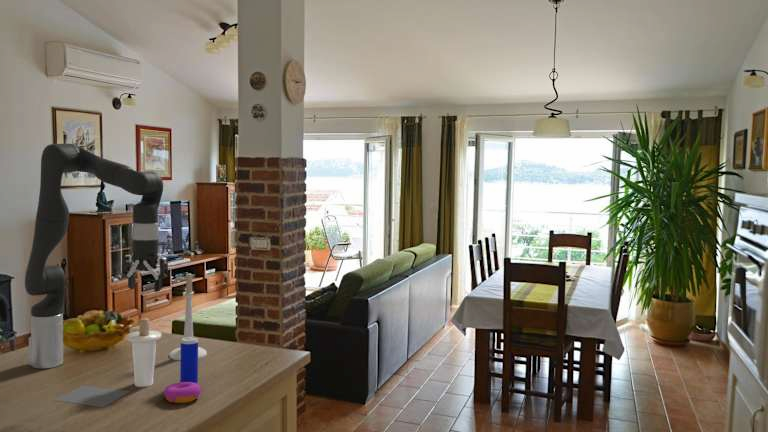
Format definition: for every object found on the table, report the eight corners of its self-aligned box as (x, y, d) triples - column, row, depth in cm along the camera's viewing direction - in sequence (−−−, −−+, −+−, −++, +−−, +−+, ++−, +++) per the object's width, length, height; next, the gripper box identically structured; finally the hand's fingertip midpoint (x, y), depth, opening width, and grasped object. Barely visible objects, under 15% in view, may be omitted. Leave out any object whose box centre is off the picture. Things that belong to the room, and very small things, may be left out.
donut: (203, 392, 182) (203, 378, 181) (197, 406, 172) (197, 390, 171) (168, 393, 181) (168, 378, 180) (159, 406, 171) (159, 391, 170)
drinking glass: (147, 390, 181) (147, 342, 180) (127, 388, 183) (127, 340, 182) (160, 382, 188) (160, 336, 187) (140, 380, 189) (141, 334, 188)
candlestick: (200, 361, 210) (201, 276, 207) (163, 359, 210) (164, 275, 208) (211, 350, 223) (212, 270, 220) (177, 348, 223) (177, 269, 220)
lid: (119, 340, 180) (119, 321, 180) (139, 332, 190) (139, 313, 190) (149, 344, 178) (149, 324, 178) (167, 335, 188) (168, 316, 188)
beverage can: (201, 384, 188) (201, 337, 187) (190, 389, 183) (191, 341, 182) (187, 381, 190) (187, 335, 189) (176, 387, 185) (177, 339, 184)
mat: (53, 402, 170) (53, 400, 170) (83, 387, 182) (83, 385, 182) (102, 409, 167) (102, 407, 167) (129, 393, 179) (129, 391, 179)
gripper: (116, 237, 179) (116, 290, 181) (159, 240, 177) (158, 294, 178) (132, 234, 187) (131, 286, 188) (173, 237, 184) (172, 289, 185)
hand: (144, 290), depth 183 cm, fingers open, 8 cm apart
